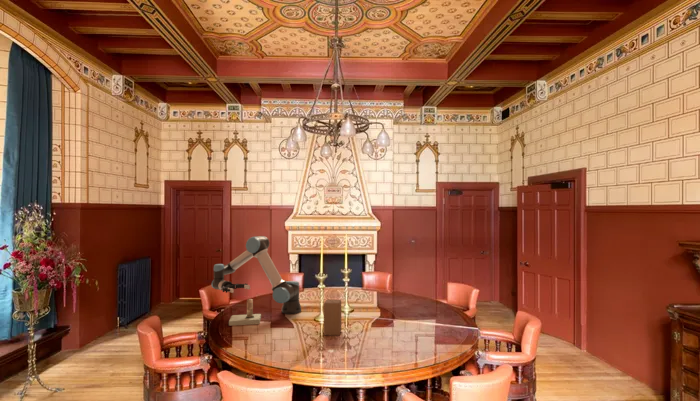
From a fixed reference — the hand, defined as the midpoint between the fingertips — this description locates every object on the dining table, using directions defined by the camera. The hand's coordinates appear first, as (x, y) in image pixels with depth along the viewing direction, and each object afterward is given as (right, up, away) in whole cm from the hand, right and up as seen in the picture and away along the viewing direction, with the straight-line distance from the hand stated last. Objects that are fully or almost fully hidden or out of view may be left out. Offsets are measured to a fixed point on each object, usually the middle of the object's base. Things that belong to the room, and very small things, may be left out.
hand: (241, 289), depth 253 cm
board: (+5, -21, -8) cm, 23 cm away
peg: (+8, -21, -7) cm, 23 cm away
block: (+67, -20, -32) cm, 77 cm away
